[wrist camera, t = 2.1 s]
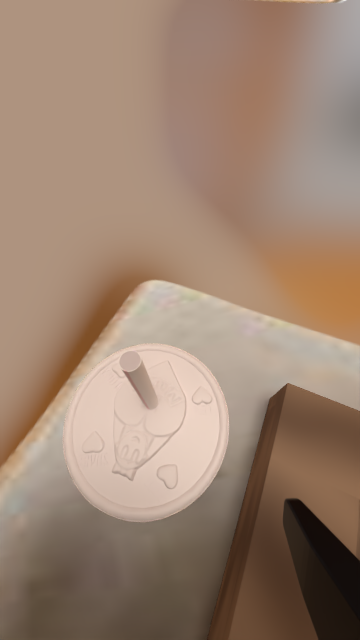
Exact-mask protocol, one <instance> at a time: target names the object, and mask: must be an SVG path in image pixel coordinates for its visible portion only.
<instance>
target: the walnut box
mask: <svg viewBox="0 0 360 640" xmlns="http://www.w3.org/2000/svg"><path fill="white" fill-rule="evenodd" d="M287 498H298V499H300V500H301V501H302V502H303V503H304V504H305V505H306V506H307V507H308V508H309V509H310V510H311V511H312V512H313V513H314V514H315V515H316V516H317V517H318V518H319V519H320V520H321V521H322V522H323V523H324V524H325V525H326V526H327V527H328V529H329V530H330V531H331V532H332V533H333V534H334V535H335V536H336V537H337V538H338V539H339V540H340V541H341V542H342V543H343V544H344V545H345V546H346V547H347V548H348V549H349V550H350V551H351V552H352V553H353V554H354V555H355V556H356V557H357V558H358V559H359V560H360V411H358V410H356V409H353V408H350V407H348V406H345V405H343V404H340V403H338V402H335V401H333V400H330V399H328V398H325V397H322V396H320V395H317V394H315V393H312V392H310V391H307V390H305V389H302V388H300V387H297V386H294V385H292V384H289V383H287V384H286V385H285V386H284V387H283V388H282V389H280V390H279V391H278V392H277V393H276V394H275V395H274V396H273V397H271V398H270V400H269V404H268V408H267V412H266V416H265V419H264V423H263V427H262V431H261V435H260V439H259V442H258V446H257V450H256V454H255V458H254V462H253V465H252V469H251V473H250V477H249V481H248V485H247V488H246V492H245V496H244V500H243V504H242V508H241V511H240V515H239V519H238V523H237V527H236V531H235V534H234V538H233V542H232V546H231V550H230V554H229V557H228V561H227V565H226V569H225V573H224V577H223V580H222V584H221V588H220V592H219V596H218V600H217V603H216V607H215V611H214V615H213V619H212V623H211V626H210V630H209V634H208V638H207V640H318V637H317V634H316V632H315V629H314V626H313V623H312V621H311V618H310V615H309V612H308V610H307V607H306V604H305V601H304V598H303V595H302V591H301V588H300V585H299V581H298V578H297V574H296V570H295V567H294V563H293V560H292V556H291V552H290V549H289V545H288V542H287V538H286V534H285V531H284V527H283V509H284V501H285V499H287Z"/></svg>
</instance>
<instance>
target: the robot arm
mask: <svg viewBox="0 0 360 640" xmlns="http://www.w3.org/2000/svg"><path fill="white" fill-rule="evenodd" d="M283 527H284V531H285V534H286V538H287V542H288V545H289V549H290V552H291V556H292V560H293V563H294V567H295V570H296V574H297V578H298V581H299V585H300V588H301V591H302V595H303V598H304V601H305V604H306V607H307V610H308V612H309V615H310V618H311V621H312V623H313V626H314V629H315V632H316V634H317V637H318V640H360V560H359V559H358V558H357V557H356V556H355V555H354V554H353V553H352V552H351V551H350V550H349V549H348V548H347V547H346V546H345V545H344V544H343V543H342V542H341V541H340V540H339V539H338V538H337V537H336V536H335V535H334V534H333V533H332V532H331V531H330V530H329V529H328V527H327V526H326V525H325V524H324V523H323V522H322V521H321V520H320V519H319V518H318V517H317V516H316V515H315V514H314V513H313V512H312V511H311V510H310V509H309V508H308V507H307V506H306V505H305V504H304V503H303V502H302V501H301V500H300V499H298V498H287V499H285V501H284V509H283Z"/></svg>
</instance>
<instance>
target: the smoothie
mask: <svg viewBox="0 0 360 640" xmlns="http://www.w3.org/2000/svg"><path fill="white" fill-rule="evenodd" d="M228 436H229V416H228V409H227V404H226V401H225V397H224V395H223V392H222V390H221V388H220V386H219V384H218V382H217V380H216V379H215V377H214V375H213V374H212V373H211V372H210V370H209V369H208V368H207V367H206V366H205V365H204V364H203V363H202V362H201V361H200V360H198V359H197V358H196V357H194V356H193V355H191V354H189V353H188V352H186V351H184V350H182V349H179V348H176V347H173V346H169V345H164V344H140V345H135V346H131V347H127V348H125V349H122V350H119V351H117V352H115V353H113V354H112V355H110V356H108V357H107V358H105V359H104V360H102V361H101V362H100V363H99V364H97V365H96V366H95V367H94V368H93V369H92V370H91V371H90V372H89V373H88V374H87V375H86V377H85V378H84V379H83V380H82V382H81V383H80V385H79V386H78V388H77V389H76V391H75V393H74V395H73V397H72V399H71V402H70V404H69V407H68V410H67V413H66V417H65V422H64V429H63V450H64V457H65V461H66V465H67V468H68V471H69V474H70V476H71V478H72V480H73V482H74V484H75V485H76V487H77V488H78V490H79V492H80V493H81V494H82V495H83V496H84V497H85V499H86V500H87V501H89V502H90V503H91V504H92V505H93V506H94V507H96V508H97V509H98V510H100V511H102V512H104V513H105V514H107V515H109V516H112V517H114V518H117V519H121V520H125V521H132V522H148V521H155V520H159V519H163V518H166V517H168V516H171V515H174V514H176V513H177V512H179V511H181V510H184V509H185V508H186V507H187V506H189V505H190V504H192V503H193V502H194V501H195V500H196V499H197V498H199V497H200V496H201V495H202V494H203V493H204V491H205V490H206V489H207V488H208V486H209V485H210V484H211V482H212V481H213V479H214V477H215V476H216V474H217V473H218V470H219V468H220V466H221V464H222V461H223V459H224V456H225V452H226V448H227V443H228Z"/></svg>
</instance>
